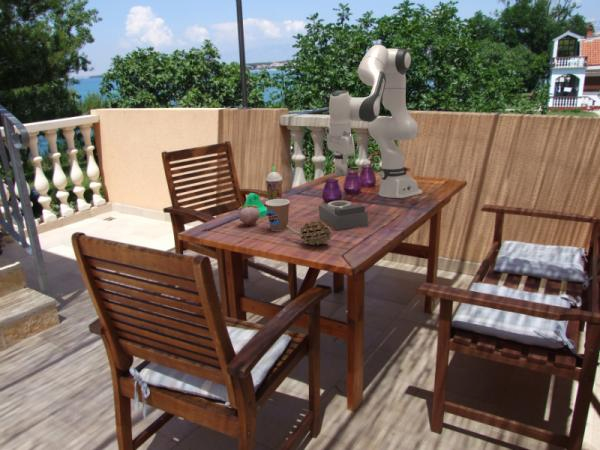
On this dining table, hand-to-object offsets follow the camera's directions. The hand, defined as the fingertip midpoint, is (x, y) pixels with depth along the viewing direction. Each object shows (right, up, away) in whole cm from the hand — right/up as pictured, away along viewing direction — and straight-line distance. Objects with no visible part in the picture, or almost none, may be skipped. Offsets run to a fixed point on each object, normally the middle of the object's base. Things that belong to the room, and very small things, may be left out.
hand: (341, 163), depth 222 cm
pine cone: (-15, -34, -19) cm, 41 cm away
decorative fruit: (-40, -27, +8) cm, 49 cm away
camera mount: (-38, -22, +22) cm, 49 cm away
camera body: (+1, -25, +5) cm, 26 cm away
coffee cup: (-26, -28, 0) cm, 39 cm away
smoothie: (-30, -17, +36) cm, 49 cm away
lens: (0, -5, +1) cm, 5 cm away
